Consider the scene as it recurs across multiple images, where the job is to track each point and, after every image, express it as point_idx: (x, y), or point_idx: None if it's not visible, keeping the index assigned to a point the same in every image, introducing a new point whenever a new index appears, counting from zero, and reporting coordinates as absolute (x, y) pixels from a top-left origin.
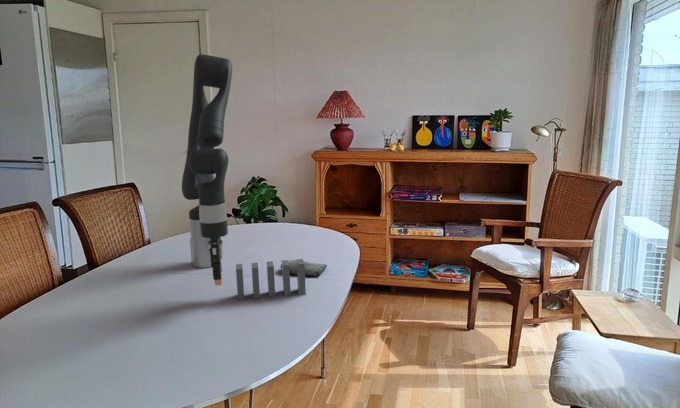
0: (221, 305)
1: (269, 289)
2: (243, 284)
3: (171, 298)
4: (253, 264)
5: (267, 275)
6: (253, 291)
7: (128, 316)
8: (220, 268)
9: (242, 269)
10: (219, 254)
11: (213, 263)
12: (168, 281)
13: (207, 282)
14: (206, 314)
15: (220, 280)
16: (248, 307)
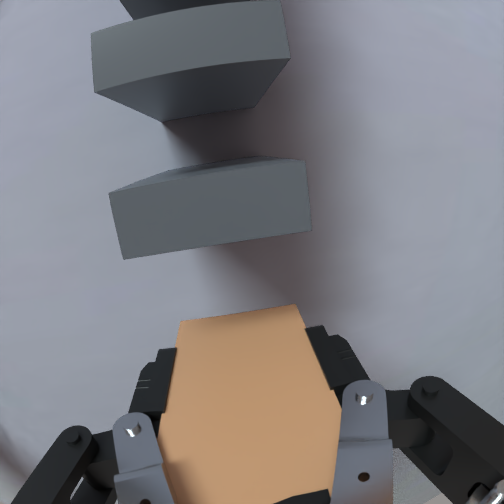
0: (315, 260)
1: None
2: (190, 168)
3: None
4: (150, 57)
5: (148, 3)
6: (258, 99)
7: None
8: (346, 373)
9: (209, 171)
10: (288, 490)
11: (433, 436)
12: None
13: (39, 362)
14: (394, 299)
15: (301, 323)
16: (359, 128)
